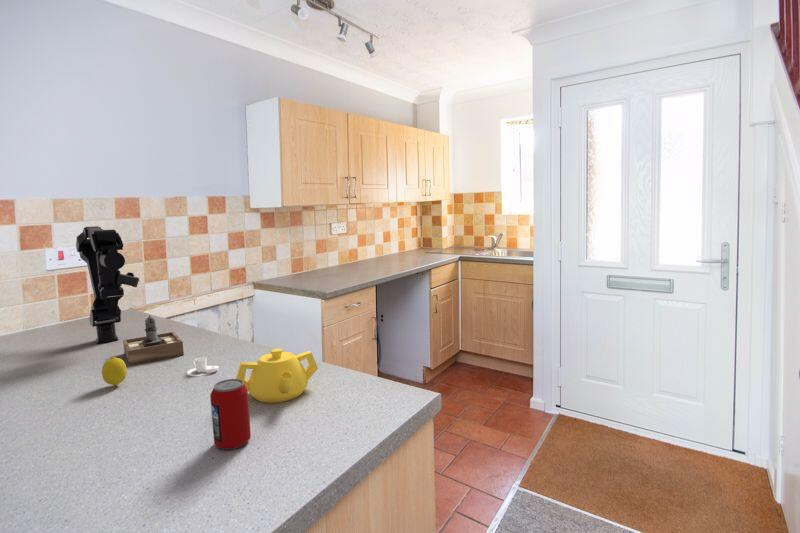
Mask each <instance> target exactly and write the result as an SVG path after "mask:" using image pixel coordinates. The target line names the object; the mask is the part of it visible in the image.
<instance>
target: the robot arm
mask: <svg viewBox="0 0 800 533" xmlns="http://www.w3.org/2000/svg"><path fill="white" fill-rule="evenodd" d="M75 247H76V248H75V249H76V252H77V253H78V254H79V257H80V259H81V260H82V261H84V263H86V265H87V268H88V269H87V270H88V274H89V279H90V283H91V288H92V293H93V296H94V300H93V303H92V305H91V308H90V313H89V325H90V326H91V327H95V328H96V329H95V330H96V336H97V337H96V338H95V341H96V344H102V343H103V344H104V343H108V342H114V341H119V337H118V335H117V331H116V323H121V321H122V318H121V317H122V316H121V315H122V309H121V308H120V307H119V301H120V300H121V299H122V298H123V297H124V295H125V293H124V292H125V291H124V288H123V287H122V286H123V285H124V286H125V285H126V286H130V287H132V288H137V287H138V286H139V282H140V277H138V276H135V274H134V272H131V271H128V272H127V273H126V274H125V273H124V274H123V273H121V271H120V269H122V268H123V267H124V265H125V263H126V259H125V257H124V255H123V254H121V253H120V252H118V251H123V250H124V249H123V248H124V242H123V240H122V238H121V235H120V234H119V232H117V231H116V229H114V228H113V229H103V228H102V227H101V226H98V225H97V226H96V225H95V226H85V227H83V229H82V232H80V234H79V235H78V236H76V241H75Z"/></svg>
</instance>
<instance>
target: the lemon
mask: <svg viewBox="0 0 800 533" xmlns="http://www.w3.org/2000/svg"><path fill="white" fill-rule="evenodd" d="M127 373H128V369H127V365H126V362H125V361H124V360H123V359H122V358H120V357H119V358H118V357H116V356H112V357H111V358H109V359H107V360H106V361H104V363H103V365H102V369H101V376H102V379H103V381H104V383H106V384H108V385H110V386H114V387H118V386H119V384H121V383H123V381H124V380H126V378H127Z"/></svg>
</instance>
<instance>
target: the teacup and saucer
mask: <svg viewBox="0 0 800 533" xmlns="http://www.w3.org/2000/svg"><path fill="white" fill-rule="evenodd" d="M207 361H208V359H207V357H205V356H201V357H197V358H194V359H193V365H194V368H191V369H189V370H188V371H187V372H186V375H187V376H189V377H202V376H206V375H210V374H213V373H215V372H217V371H218V370H219V369H220V367H219V366H218V365H207V364H208V362H207ZM195 370H196V371H197V373H198V374H193V373H192V372H194V371H195ZM204 372H205V373H204ZM200 373H203V374H200Z"/></svg>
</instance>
